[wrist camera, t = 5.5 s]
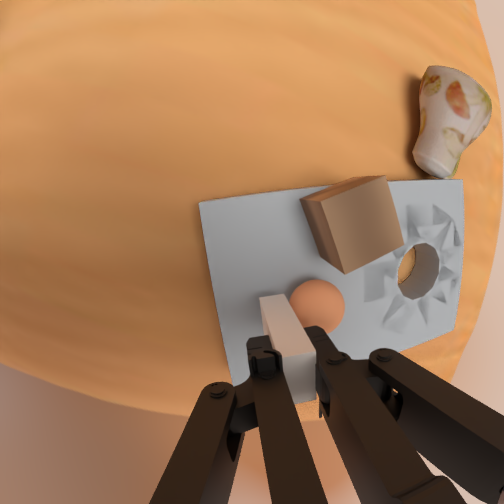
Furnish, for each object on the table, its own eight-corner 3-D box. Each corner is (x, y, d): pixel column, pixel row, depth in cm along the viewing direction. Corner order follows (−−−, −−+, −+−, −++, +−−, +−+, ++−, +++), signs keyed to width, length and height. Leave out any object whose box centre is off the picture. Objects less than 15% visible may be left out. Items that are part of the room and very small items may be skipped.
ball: (291, 350, 16) (349, 343, 15) (289, 296, 15) (353, 289, 14) (287, 321, 19) (336, 316, 19) (284, 274, 18) (337, 269, 18)
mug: (384, 166, 21) (446, 83, 11) (396, 107, 24) (436, 39, 14) (450, 208, 20) (522, 149, 11) (450, 142, 23) (498, 86, 14)
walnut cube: (320, 256, 18) (345, 274, 14) (298, 198, 17) (320, 201, 13) (371, 233, 18) (404, 244, 14) (353, 177, 17) (385, 175, 13)
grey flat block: (232, 366, 23) (234, 391, 20) (202, 200, 20) (198, 202, 16) (433, 316, 24) (453, 329, 21) (437, 178, 21) (462, 179, 18)
